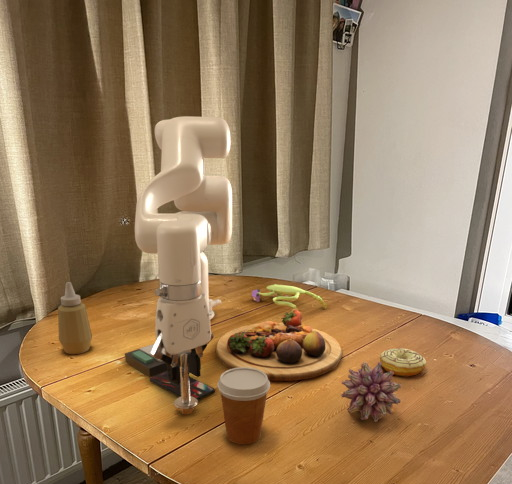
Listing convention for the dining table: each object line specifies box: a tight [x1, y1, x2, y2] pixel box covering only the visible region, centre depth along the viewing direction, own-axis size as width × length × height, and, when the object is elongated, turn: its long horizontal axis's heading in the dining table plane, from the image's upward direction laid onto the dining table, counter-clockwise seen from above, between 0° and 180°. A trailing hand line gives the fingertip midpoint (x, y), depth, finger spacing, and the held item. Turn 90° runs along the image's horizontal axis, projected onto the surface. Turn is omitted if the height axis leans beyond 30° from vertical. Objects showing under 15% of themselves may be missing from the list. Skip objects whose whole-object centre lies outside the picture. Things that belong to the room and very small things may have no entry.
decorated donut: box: [379, 347, 427, 377], centre depth 120 cm, size 10×11×4 cm
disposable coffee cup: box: [216, 367, 271, 445], centre depth 91 cm, size 10×10×12 cm
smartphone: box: [149, 371, 216, 401], centre depth 111 cm, size 7×1×15 cm
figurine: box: [251, 283, 328, 310], centre depth 163 cm, size 18×27×6 cm
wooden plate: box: [215, 309, 343, 382], centre depth 126 cm, size 32×32×8 cm
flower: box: [340, 361, 403, 423], centre depth 98 cm, size 12×12×12 cm
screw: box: [173, 353, 199, 416], centre depth 99 cm, size 13×5×5 cm
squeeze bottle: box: [57, 281, 93, 355], centre depth 125 cm, size 8×8×18 cm
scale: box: [124, 343, 191, 378], centre depth 122 cm, size 13×11×3 cm
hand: (184, 377), depth 98 cm, fingers open, 4 cm apart
